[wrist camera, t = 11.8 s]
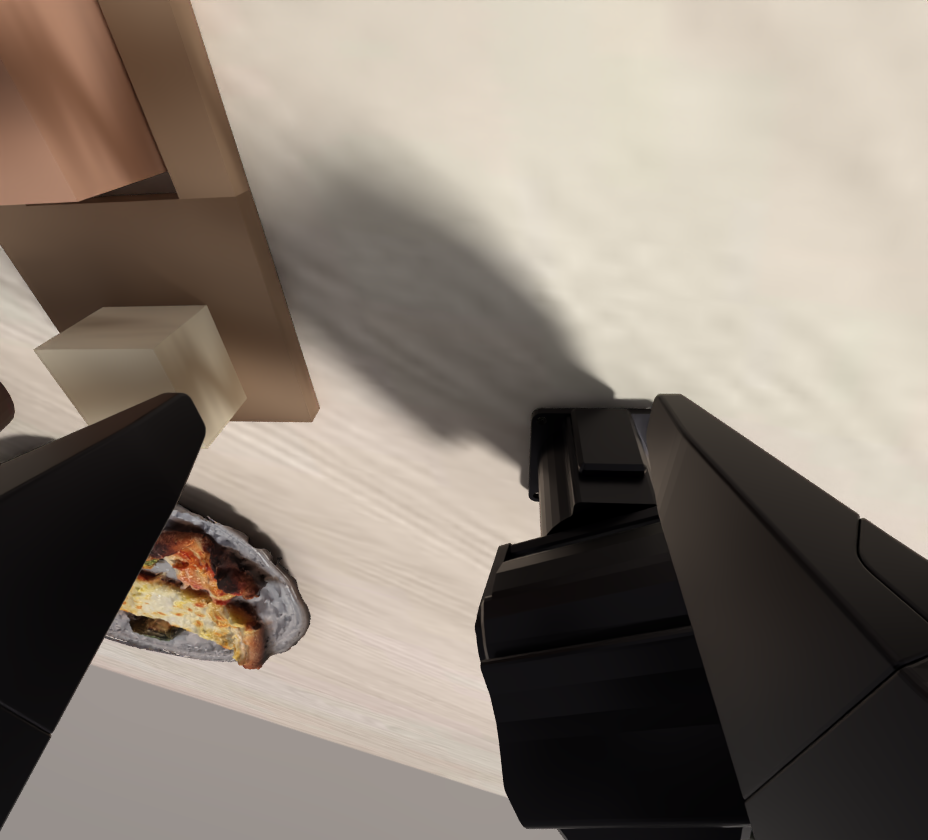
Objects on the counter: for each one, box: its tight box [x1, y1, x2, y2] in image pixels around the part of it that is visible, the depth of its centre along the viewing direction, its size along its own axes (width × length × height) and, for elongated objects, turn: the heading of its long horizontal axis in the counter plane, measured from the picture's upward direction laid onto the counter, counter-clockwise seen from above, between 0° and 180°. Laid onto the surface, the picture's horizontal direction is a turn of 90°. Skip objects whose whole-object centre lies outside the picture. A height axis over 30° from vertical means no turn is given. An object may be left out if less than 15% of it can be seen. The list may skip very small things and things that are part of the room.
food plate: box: [105, 505, 311, 670], centre depth 35 cm, size 25×23×4 cm
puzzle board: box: [0, 0, 320, 449], centre depth 15 cm, size 28×11×5 cm, turn 3°
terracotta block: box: [0, 0, 168, 205], centre depth 15 cm, size 5×5×5 cm
